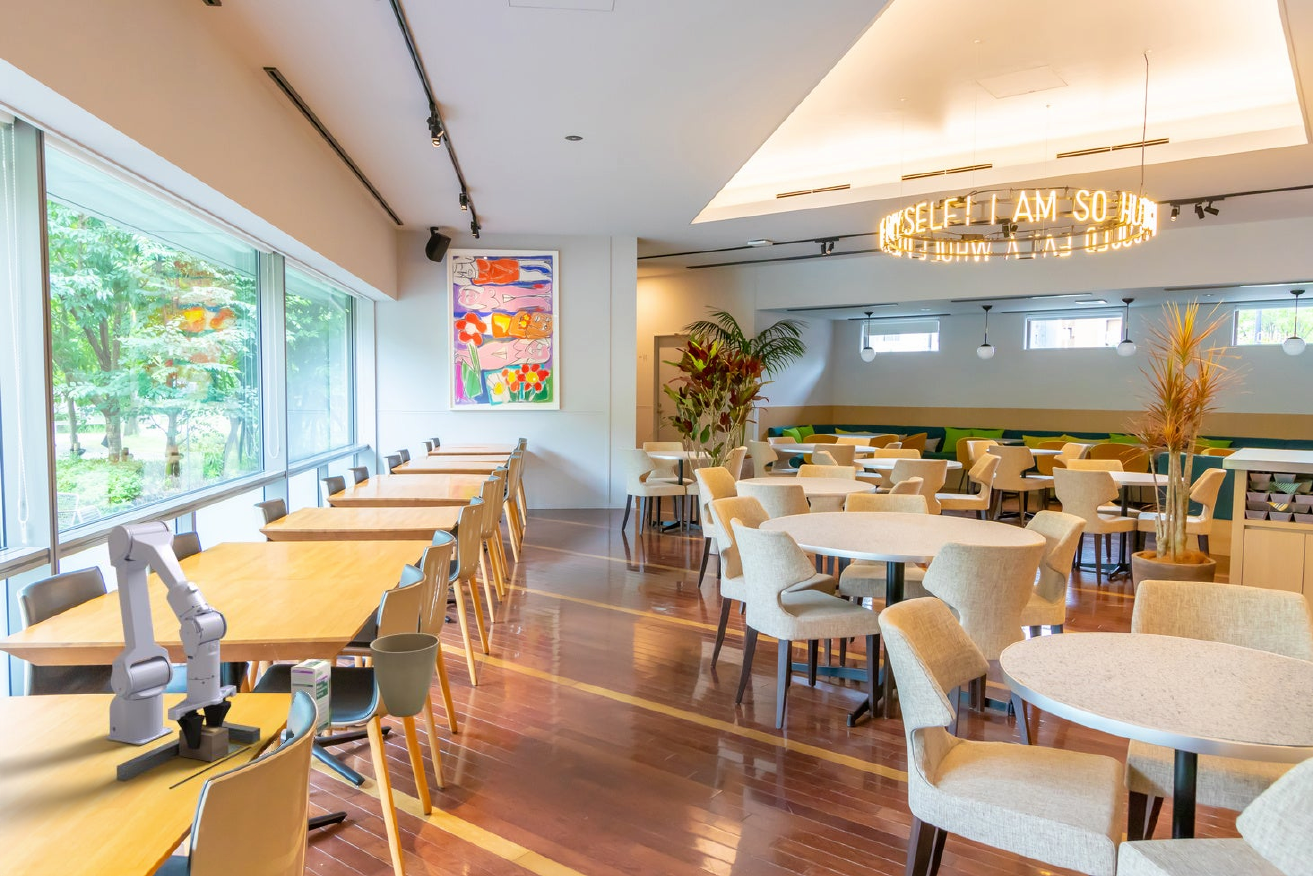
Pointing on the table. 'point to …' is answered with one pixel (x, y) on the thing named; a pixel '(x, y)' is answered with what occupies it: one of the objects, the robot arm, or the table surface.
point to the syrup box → (314, 687)
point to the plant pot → (404, 670)
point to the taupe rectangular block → (206, 744)
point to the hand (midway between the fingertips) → (203, 743)
